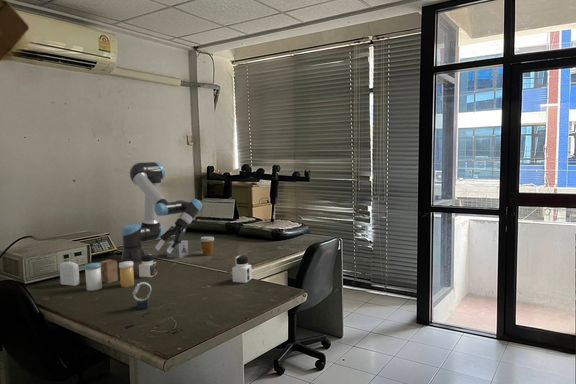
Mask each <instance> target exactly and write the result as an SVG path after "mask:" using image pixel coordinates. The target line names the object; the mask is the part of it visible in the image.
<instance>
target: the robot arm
mask: <svg viewBox="0 0 576 384" xmlns="http://www.w3.org/2000/svg"><path fill="white" fill-rule="evenodd" d="M165 176H166V171H165V167H164V166H163V164H162V163H160V162H155V161H151V162H150V161H149V162H136V163H134V164H133V165H132V166H131V167H130V170H129V178H130V180H131V181H132V183H133V184H134V185H136V186H138V188H139V189H140V190H141V192H142V193H143V194H144V212H143V213H144V216H143V220H141V223H131V224H127V225H125V226H123V227H122V232H121V235H122V246H123V247H122V254H121V257H120V260H121V262H125V261H133V263H135V262H140V261H141V262H142V256H143V255H146V254H145V251H144V248H143V244H142V243H145V242H146V243H147V242H151V241H157V240H159V239H160V240H159V241H158V243H157V244H156V246H155V247H154V249H156V251H160V249H161V248H162V247H163V245H164V244H165V243H166V240H167V241H168V239H169V238H171V237H172V236H174V240H173V241H174V242H172V244H171V245H170V246H169V248H168V249H167V248H166V253H167V252H168V253H171V252H172V250H173V249H174V248H175V246H176V245H177V244H178V243H179V244H180V243H181V241H182V240H183V238H184V235H185V233H186V232H187V229H188V227H189V225H190V224H191V223H192V221H193V220H194V219H195V218H196V216H197V215H198V213H199V212H200V211H201V209H202V207H203V203H202V202H201V201H200V200H198V199H196V198H193V199H191V201H186V200H182V199H177V200H175V201H168V200H167V199H166V197H164V196H163V194H162V193H161V192H160V191H159V185H160V184H162V180H163V179H164V178H165ZM179 214H180V215H179ZM170 215H179V217H178V218H177V219H176V220H175V223H174V224H175V226H173V225H171V226H170V227H169V228H168V229H167V230H166V231H165V232H164V228H163V225H162V223H160V220H159V219H158V216H159V217H161V216H163V217H164V216H170ZM179 240H180V241H179Z"/></svg>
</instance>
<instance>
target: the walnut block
mask: <svg viewBox="0 0 576 384" xmlns="http://www.w3.org/2000/svg"><path fill="white" fill-rule="evenodd" d="M117 261H118V260H116V259H115V260H114V259H111V258H110V259H105V260H101V261H99V263H101V281H102V283H106V284H110V283H113V282H116V281H118V280H119V277H118V274H119V273H118V262H117Z"/></svg>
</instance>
